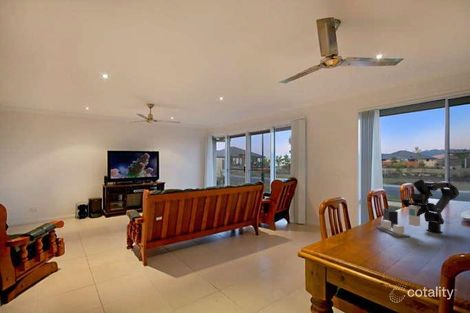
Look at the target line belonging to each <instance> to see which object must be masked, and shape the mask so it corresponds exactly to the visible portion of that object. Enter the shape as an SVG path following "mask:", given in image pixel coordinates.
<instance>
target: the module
mask: <svg viewBox="0 0 470 313" xmlns="http://www.w3.org/2000/svg"><path fill="white" fill-rule="evenodd" d="M419 209H420V206H414V205H411V206H409V207H408V213H409V214H408V225H410V226H414V227H419V226H420V227H421V215H420V216H416V215H417V213H418V211H419Z"/></svg>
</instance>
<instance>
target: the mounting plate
mask: <svg viewBox="0 0 470 313" xmlns="http://www.w3.org/2000/svg"><path fill="white" fill-rule="evenodd" d="M380 224H381V225H379V226H376V227H375V229H378V230H379V231H381V232H384V233H386V234H389V235H391V236H393V237H395V238H398V239H399V238H411V235H409V234H407V233H405V226H404V225H401V224H398V225H391V221H388V220H383V219H381V220H380ZM392 226H393V227H392Z"/></svg>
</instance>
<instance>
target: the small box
mask: <svg viewBox="0 0 470 313" xmlns="http://www.w3.org/2000/svg"><path fill="white" fill-rule="evenodd" d="M382 210H383V216H382V217H383V218H382V220H388V221H391V226H393V225H399V224H398V223H399V222H398V220H399V218H398V217H399V212H398V211H396V210H394V209H391V208H383V209H382Z"/></svg>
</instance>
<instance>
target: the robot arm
mask: <svg viewBox="0 0 470 313" xmlns="http://www.w3.org/2000/svg"><path fill="white" fill-rule="evenodd" d="M413 186H414V188H415V190H416V192H418V193H414V192H413V193H410V197H409V198H410V199H412V200H410V199H407V198H403V199H402V200H401V203H402V204H403V205H404V207H406V208H409V206H411V205H414V206H420V209H419V211H418V213H417V215H416V216H420V217H421V216H422V215H423V216H424V220H425V222H427V223H428V224H427V229H425V230H426V231H428V232H430V233H434V234H442V233H443V232H444V231H441V229H442V228H441V225H444V224H445V220H444V218H443V216H442V212H443V211H444V210H445V209H446V207H447V206H448V204H449V203H450V201H451V200H455V199H456V198H457V197H458V196H459V195H460V192H459V189H458V188H457V187H456V186H455V185H453V184H452V183H451V182H450V181H443V180H442V181H437V182H436V181H435V182H434V181H424V179H418V180H416V181H415V182H413ZM439 189H440V192H441V196H440V198H439V199H438V201H437V202H436V203H433V202H430V201H429V199H430V198H431V197H434V195H433V193H432V192H436V191H437V190H439ZM408 215H409V212H408Z"/></svg>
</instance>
